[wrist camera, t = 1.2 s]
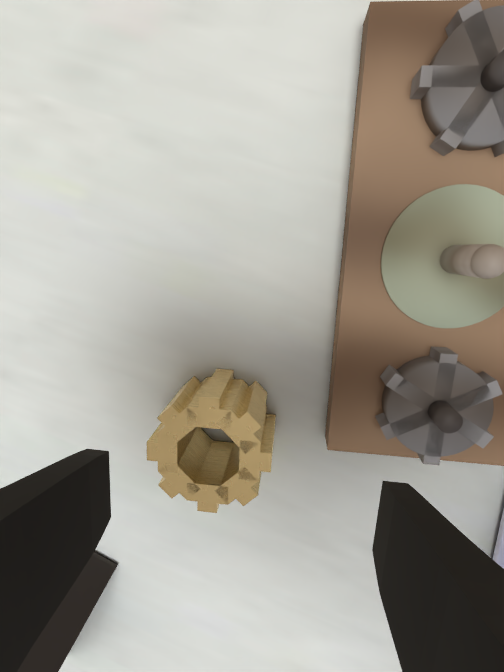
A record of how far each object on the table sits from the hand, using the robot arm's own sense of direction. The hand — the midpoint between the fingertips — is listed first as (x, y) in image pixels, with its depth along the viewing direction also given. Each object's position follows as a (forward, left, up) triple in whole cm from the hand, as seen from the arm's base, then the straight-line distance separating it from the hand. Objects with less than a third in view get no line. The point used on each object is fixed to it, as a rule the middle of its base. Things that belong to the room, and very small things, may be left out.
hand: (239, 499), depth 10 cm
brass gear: (-3, +2, -10) cm, 11 cm away
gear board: (+6, -8, -10) cm, 14 cm away
